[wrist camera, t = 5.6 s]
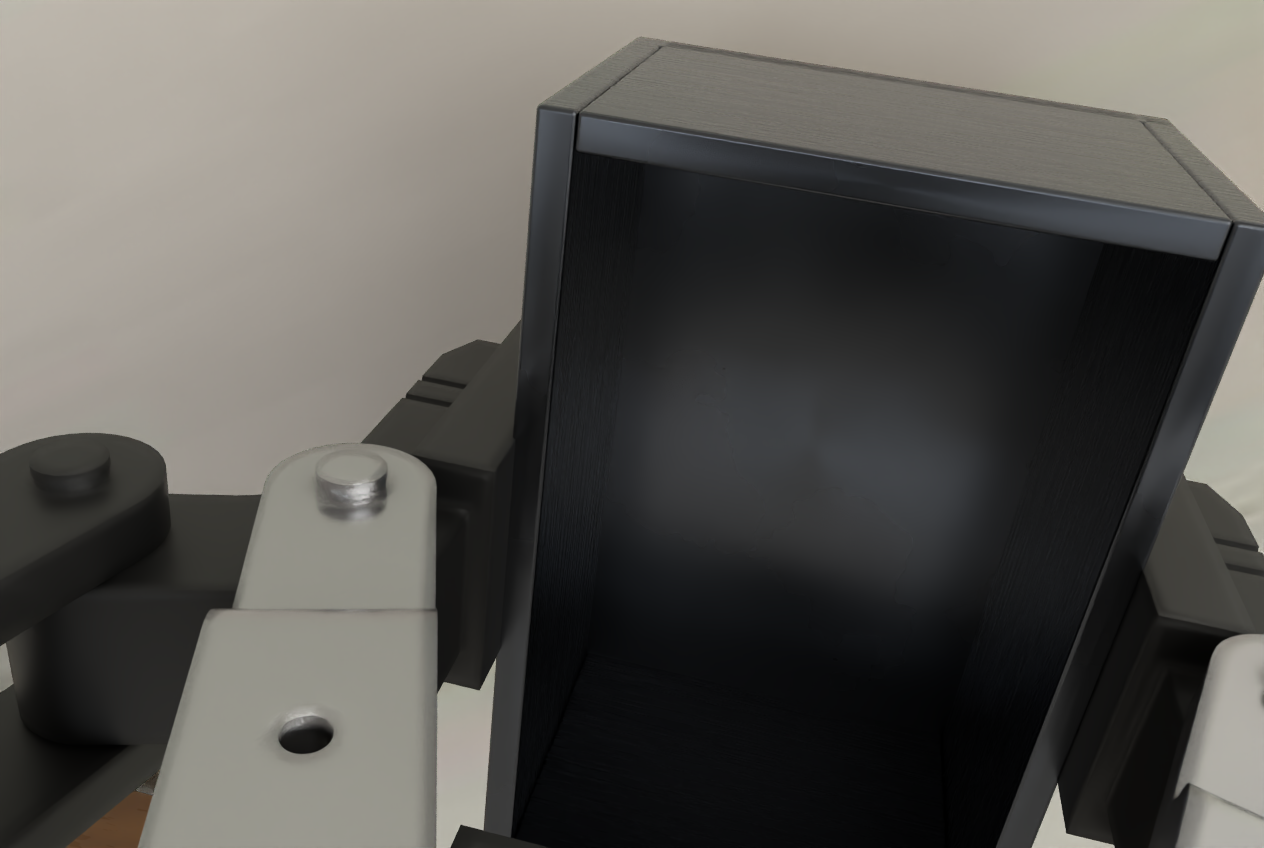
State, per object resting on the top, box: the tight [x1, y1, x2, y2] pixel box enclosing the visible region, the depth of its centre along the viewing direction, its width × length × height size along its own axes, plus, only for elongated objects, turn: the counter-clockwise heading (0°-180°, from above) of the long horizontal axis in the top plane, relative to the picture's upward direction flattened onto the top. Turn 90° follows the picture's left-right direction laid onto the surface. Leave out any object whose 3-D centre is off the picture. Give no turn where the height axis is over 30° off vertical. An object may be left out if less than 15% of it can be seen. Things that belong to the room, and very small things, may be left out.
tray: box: [484, 37, 1264, 848], centre depth 11 cm, size 5×8×4 cm, turn 173°
